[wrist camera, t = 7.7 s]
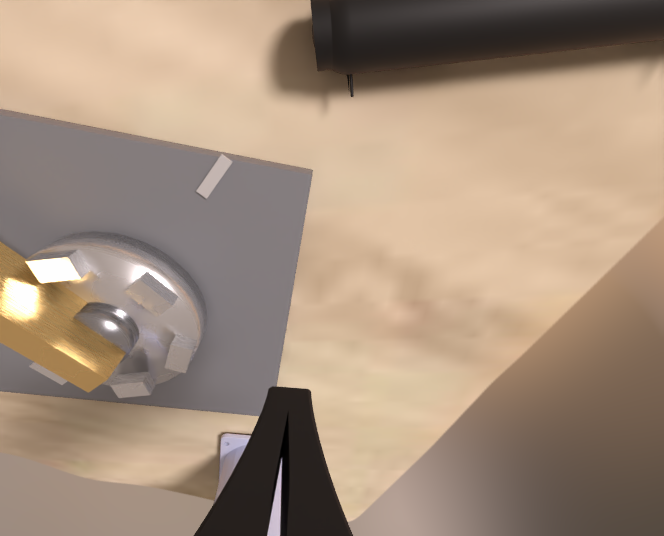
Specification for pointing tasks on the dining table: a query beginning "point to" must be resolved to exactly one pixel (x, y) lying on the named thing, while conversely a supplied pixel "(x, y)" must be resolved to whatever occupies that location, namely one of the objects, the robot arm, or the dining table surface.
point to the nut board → (164, 244)
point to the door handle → (470, 30)
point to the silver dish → (101, 312)
